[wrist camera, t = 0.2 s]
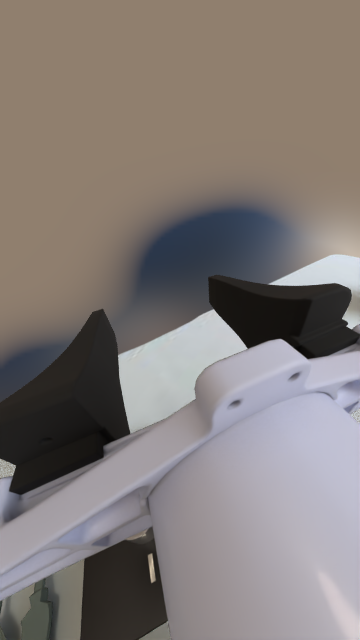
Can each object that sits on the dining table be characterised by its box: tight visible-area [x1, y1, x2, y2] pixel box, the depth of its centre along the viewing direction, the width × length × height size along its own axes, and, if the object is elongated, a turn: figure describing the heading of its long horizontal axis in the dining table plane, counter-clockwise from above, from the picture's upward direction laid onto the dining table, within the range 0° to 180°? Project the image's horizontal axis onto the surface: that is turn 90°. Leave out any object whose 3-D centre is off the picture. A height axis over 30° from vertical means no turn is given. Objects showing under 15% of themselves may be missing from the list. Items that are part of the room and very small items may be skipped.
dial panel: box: [80, 538, 168, 640], centre depth 18 cm, size 12×11×3 cm
